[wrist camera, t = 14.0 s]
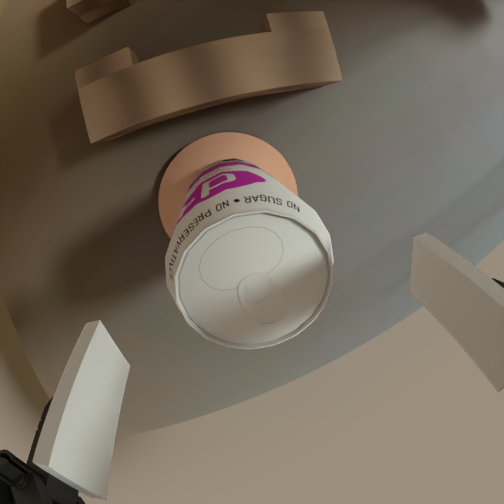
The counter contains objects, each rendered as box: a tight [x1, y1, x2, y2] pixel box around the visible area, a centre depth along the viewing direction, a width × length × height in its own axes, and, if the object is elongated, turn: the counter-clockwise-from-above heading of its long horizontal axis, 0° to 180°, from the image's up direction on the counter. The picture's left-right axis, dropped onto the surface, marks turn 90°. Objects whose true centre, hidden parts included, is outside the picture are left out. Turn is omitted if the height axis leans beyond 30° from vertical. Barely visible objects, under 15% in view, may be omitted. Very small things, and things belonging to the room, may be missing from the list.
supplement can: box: [165, 158, 334, 350], centre depth 19 cm, size 8×8×15 cm
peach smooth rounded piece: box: [158, 132, 298, 239], centre depth 26 cm, size 13×13×1 cm
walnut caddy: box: [66, 0, 343, 143], centre depth 16 cm, size 20×20×5 cm
